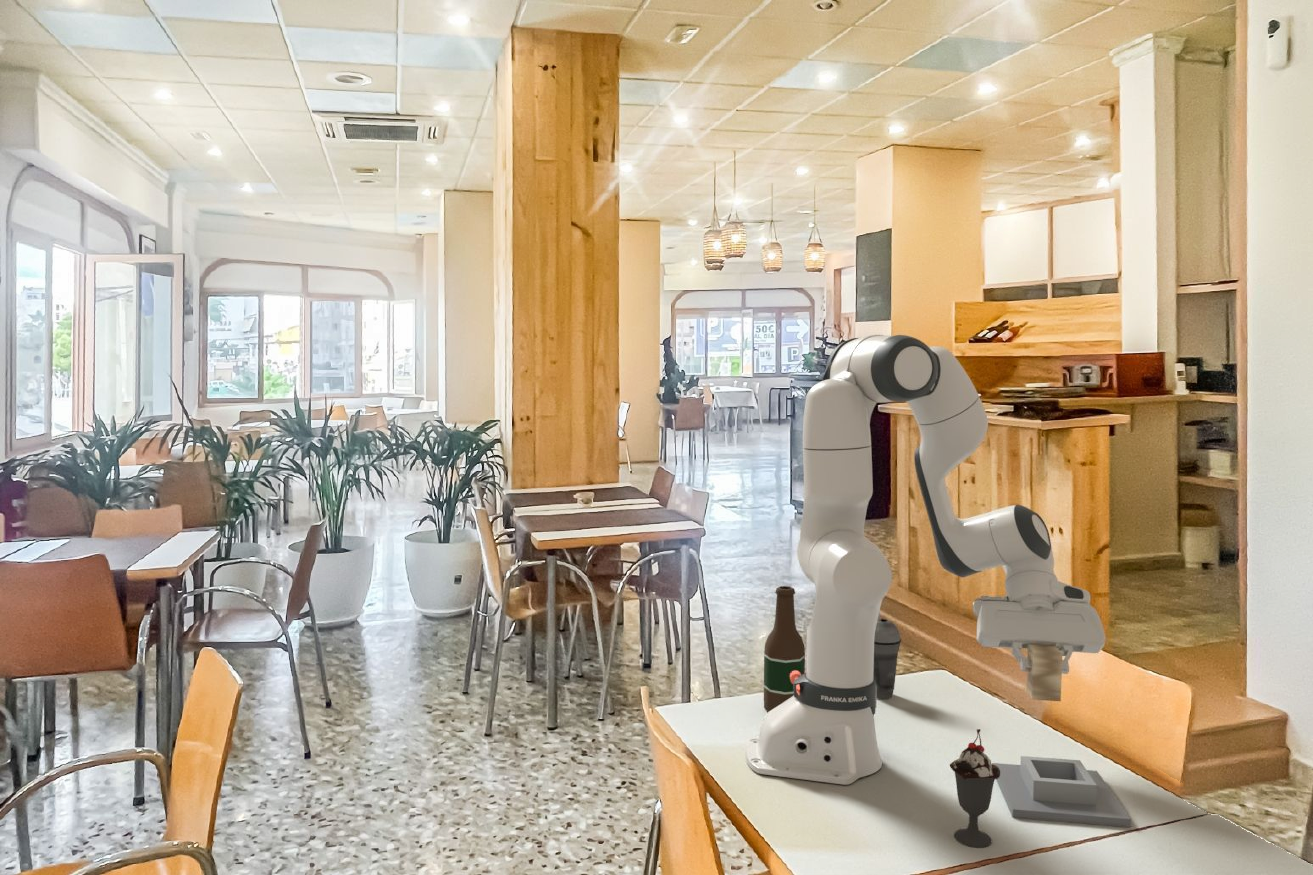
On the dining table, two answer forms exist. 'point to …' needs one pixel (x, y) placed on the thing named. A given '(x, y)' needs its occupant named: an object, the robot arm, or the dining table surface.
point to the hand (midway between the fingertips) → (1045, 671)
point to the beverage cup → (885, 657)
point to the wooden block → (1044, 672)
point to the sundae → (974, 791)
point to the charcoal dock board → (1059, 792)
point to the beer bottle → (782, 651)
